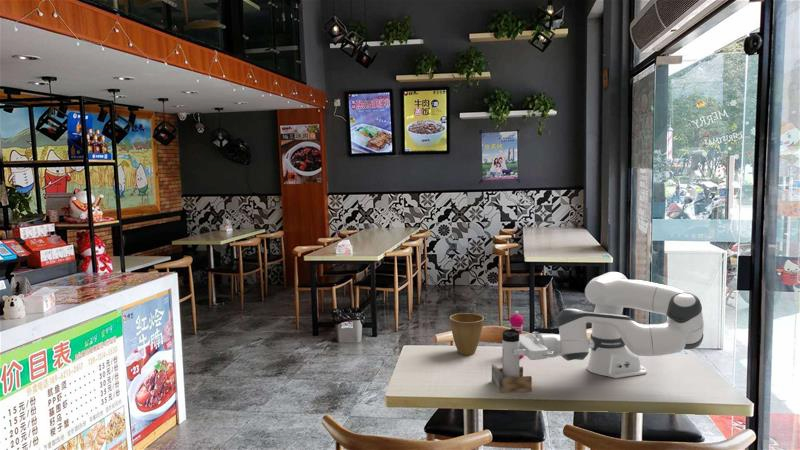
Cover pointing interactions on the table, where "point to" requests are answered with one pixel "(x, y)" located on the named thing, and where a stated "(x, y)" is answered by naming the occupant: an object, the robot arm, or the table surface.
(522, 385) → the cradle
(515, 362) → the travel mug
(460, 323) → the plant pot
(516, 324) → the pepper mill
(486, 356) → the table surface
